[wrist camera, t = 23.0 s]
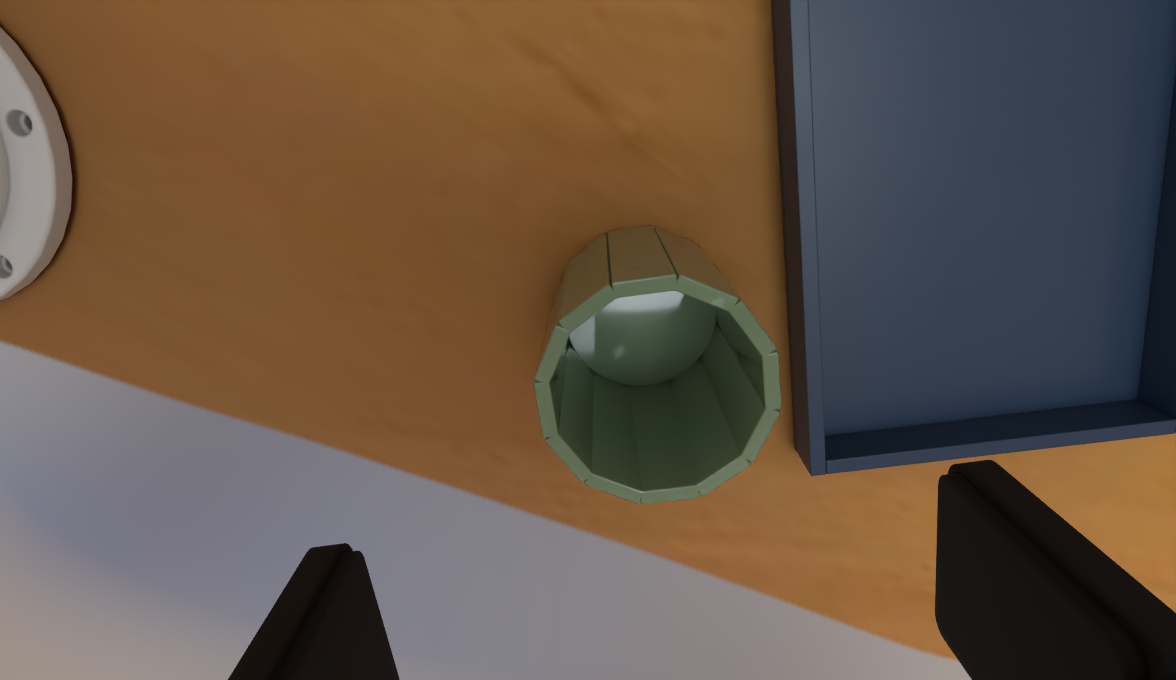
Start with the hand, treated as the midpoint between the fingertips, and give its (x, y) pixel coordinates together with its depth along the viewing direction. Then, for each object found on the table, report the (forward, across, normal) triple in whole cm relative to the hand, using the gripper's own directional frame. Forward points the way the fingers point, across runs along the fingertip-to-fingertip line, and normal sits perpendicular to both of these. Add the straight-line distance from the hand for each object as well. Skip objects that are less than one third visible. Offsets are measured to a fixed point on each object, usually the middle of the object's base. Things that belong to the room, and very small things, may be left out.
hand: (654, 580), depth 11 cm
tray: (+16, -14, -3) cm, 22 cm away
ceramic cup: (+17, -1, 0) cm, 17 cm away
